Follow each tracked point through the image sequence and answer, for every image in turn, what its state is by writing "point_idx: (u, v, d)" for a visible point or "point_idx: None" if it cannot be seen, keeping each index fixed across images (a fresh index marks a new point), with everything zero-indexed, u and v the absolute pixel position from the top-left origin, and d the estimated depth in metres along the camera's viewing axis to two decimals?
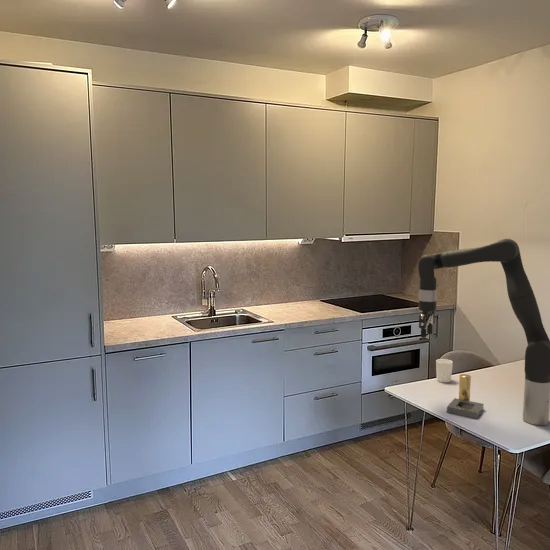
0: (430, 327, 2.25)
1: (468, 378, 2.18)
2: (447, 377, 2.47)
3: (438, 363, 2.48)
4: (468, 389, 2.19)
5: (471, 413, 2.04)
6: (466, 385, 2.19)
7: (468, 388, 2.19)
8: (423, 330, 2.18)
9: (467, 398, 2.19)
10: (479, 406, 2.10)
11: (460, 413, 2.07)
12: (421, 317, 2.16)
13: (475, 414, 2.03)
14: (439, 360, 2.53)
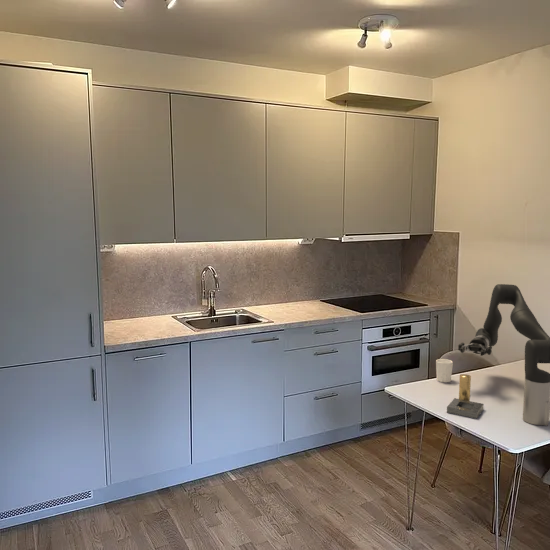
0: None
1: (468, 378, 2.18)
2: (447, 377, 2.47)
3: (438, 363, 2.48)
4: (468, 389, 2.19)
5: (471, 413, 2.04)
6: (466, 385, 2.19)
7: (468, 388, 2.19)
8: None
9: (467, 398, 2.19)
10: (479, 406, 2.10)
11: (460, 413, 2.07)
12: None
13: (475, 414, 2.03)
14: (439, 360, 2.53)
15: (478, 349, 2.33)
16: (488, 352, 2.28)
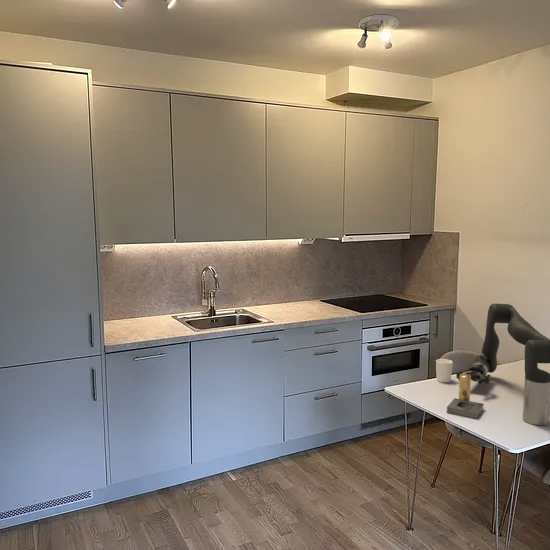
0: None
1: (468, 378, 2.18)
2: (447, 377, 2.47)
3: (438, 363, 2.48)
4: (468, 389, 2.19)
5: (471, 413, 2.04)
6: (466, 385, 2.19)
7: (468, 388, 2.19)
8: None
9: (467, 398, 2.19)
10: (479, 406, 2.10)
11: (460, 413, 2.07)
12: None
13: (475, 414, 2.03)
14: (439, 360, 2.53)
15: (476, 377, 2.32)
16: (486, 381, 2.27)
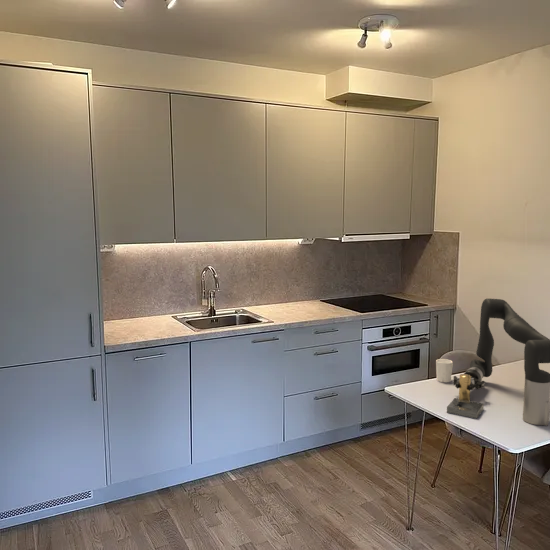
0: None
1: (468, 378, 2.18)
2: (447, 377, 2.47)
3: (438, 363, 2.48)
4: (468, 389, 2.19)
5: (471, 413, 2.04)
6: (466, 385, 2.19)
7: (468, 388, 2.19)
8: None
9: (467, 398, 2.19)
10: (479, 406, 2.10)
11: (460, 413, 2.07)
12: None
13: (475, 414, 2.03)
14: (439, 360, 2.53)
15: None
16: (476, 386, 2.20)
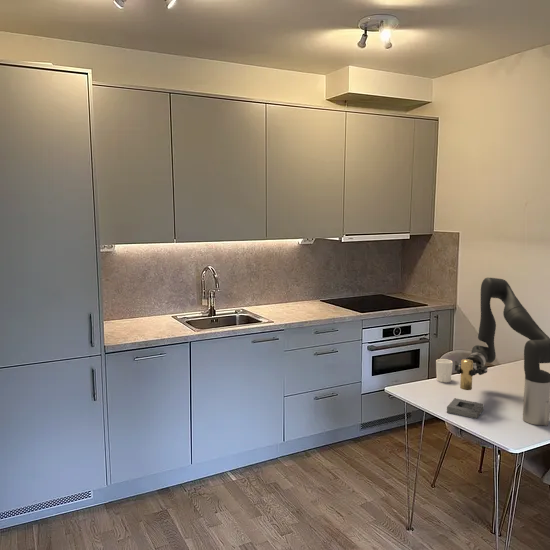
0: None
1: (470, 363, 2.07)
2: (447, 377, 2.47)
3: (438, 363, 2.48)
4: (470, 375, 2.08)
5: (471, 413, 2.04)
6: (468, 370, 2.07)
7: (470, 373, 2.08)
8: None
9: (469, 384, 2.08)
10: (479, 406, 2.10)
11: (460, 413, 2.07)
12: None
13: (475, 414, 2.03)
14: (439, 360, 2.53)
15: None
16: (478, 372, 2.08)
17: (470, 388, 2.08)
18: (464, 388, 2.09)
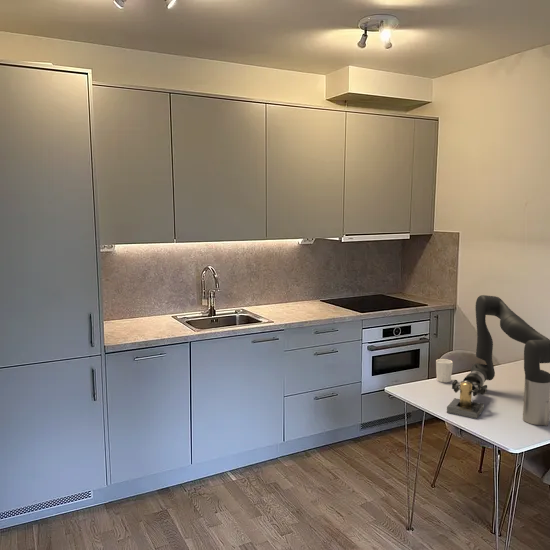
0: None
1: (469, 386, 2.08)
2: (447, 377, 2.47)
3: (438, 363, 2.48)
4: (469, 397, 2.09)
5: (471, 413, 2.04)
6: (467, 393, 2.08)
7: (469, 396, 2.09)
8: None
9: (468, 407, 2.09)
10: (479, 406, 2.10)
11: (460, 413, 2.07)
12: None
13: (475, 414, 2.03)
14: (439, 360, 2.53)
15: None
16: (481, 392, 2.09)
17: None
18: None
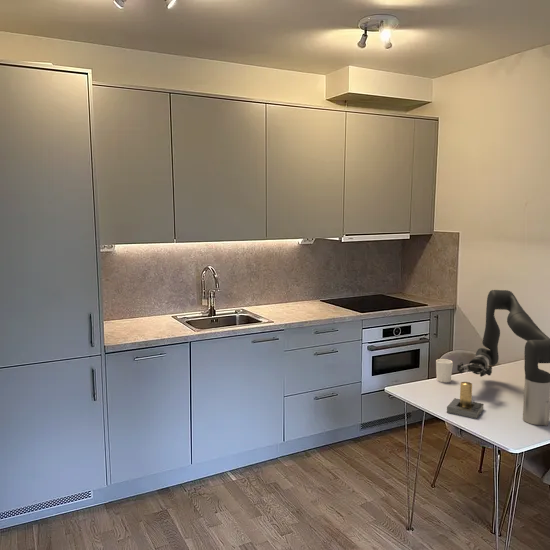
0: None
1: (469, 386, 2.08)
2: (447, 377, 2.47)
3: (438, 363, 2.48)
4: (469, 397, 2.09)
5: (471, 413, 2.04)
6: (467, 393, 2.08)
7: (469, 396, 2.09)
8: None
9: (468, 407, 2.09)
10: (479, 406, 2.10)
11: (460, 413, 2.07)
12: None
13: (475, 414, 2.03)
14: (439, 360, 2.53)
15: (478, 369, 2.25)
16: (488, 373, 2.21)
17: None
18: None
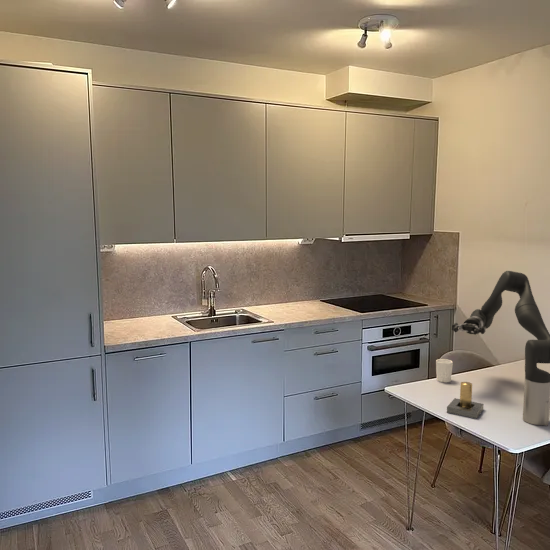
0: None
1: (469, 386, 2.08)
2: (447, 377, 2.47)
3: (438, 363, 2.48)
4: (469, 398, 2.09)
5: (471, 413, 2.04)
6: (467, 393, 2.08)
7: (469, 396, 2.09)
8: None
9: (468, 407, 2.09)
10: (479, 406, 2.10)
11: (460, 413, 2.07)
12: None
13: (475, 414, 2.03)
14: (439, 360, 2.53)
15: (471, 329, 2.31)
16: (481, 331, 2.27)
17: None
18: None
